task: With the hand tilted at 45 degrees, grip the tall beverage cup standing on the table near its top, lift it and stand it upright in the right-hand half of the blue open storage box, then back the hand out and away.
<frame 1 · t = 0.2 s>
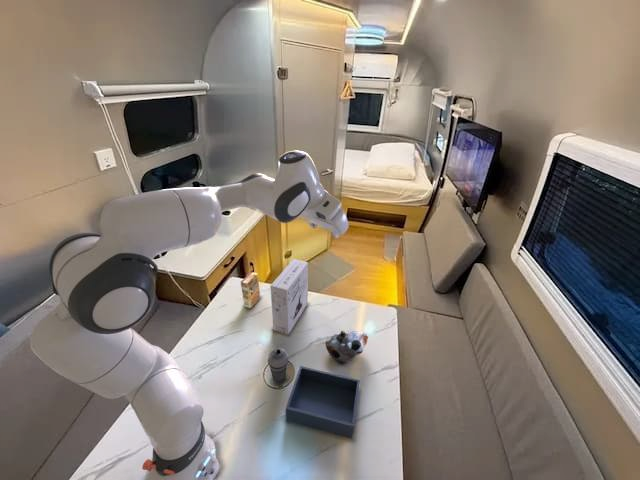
hand: (325, 231, 89), 54 cm above the table, tool tilted 30°, fingers open, 8 cm apart
blue open storage box: (323, 405, 94), on the table
beverage cup: (279, 380, 101), on the table
candy box: (252, 302, 137), on the table
cereal box: (291, 316, 130), on the table
lucky cat figurine: (345, 351, 113), on the table
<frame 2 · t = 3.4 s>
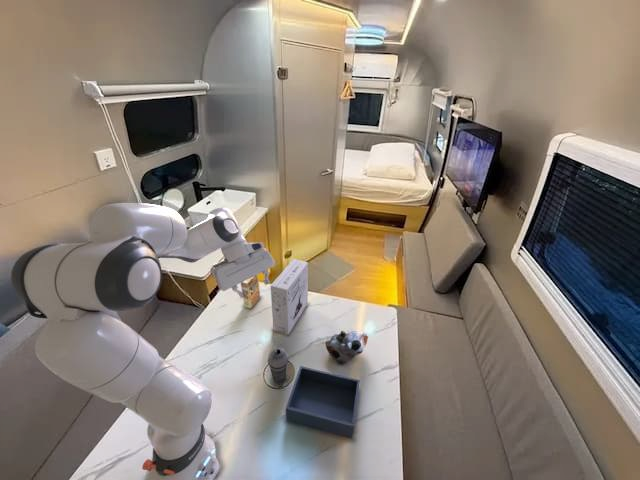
hand: (255, 290, 93), 34 cm above the table, tool tilted 40°, fingers open, 8 cm apart
nothing on the table moved.
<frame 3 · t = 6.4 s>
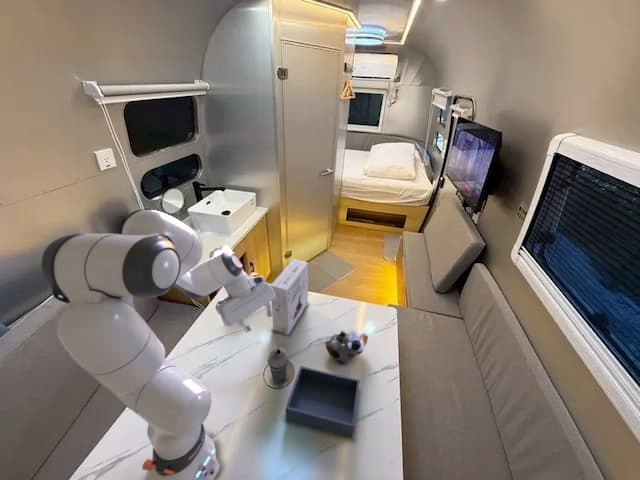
hand: (259, 323, 95), 23 cm above the table, tool tilted 45°, fingers open, 8 cm apart
nothing on the table moved.
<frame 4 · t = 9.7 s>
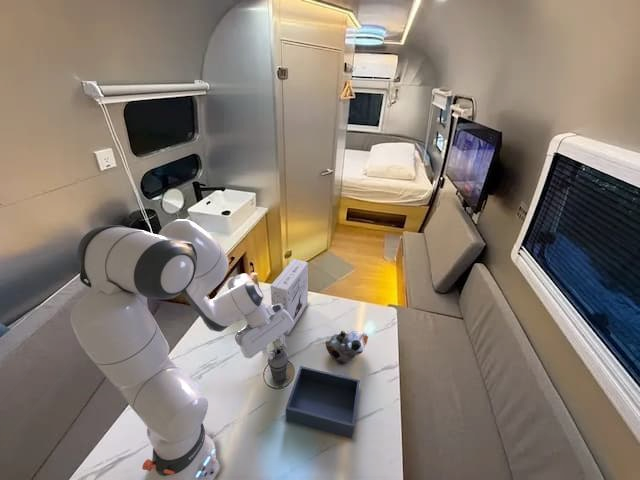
hand: (278, 353, 93), 15 cm above the table, tool tilted 45°, fingers closed on beverage cup, 4 cm apart
beverage cup: (279, 380, 101), on the table, touching gripper
everything else where it was.
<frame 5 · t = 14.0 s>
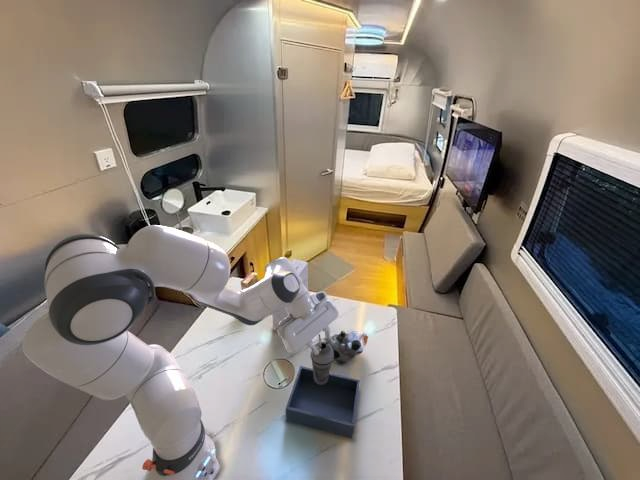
hand: (324, 347, 81), 27 cm above the table, tool tilted 45°, fingers closed on beverage cup, 4 cm apart
beverage cup: (320, 378, 89), point 12 cm above the table, touching gripper
everything else where it was.
when the fingers open (16 cm above the table, at t = 18.4 s): beverage cup stays where it is, resting on blue open storage box.
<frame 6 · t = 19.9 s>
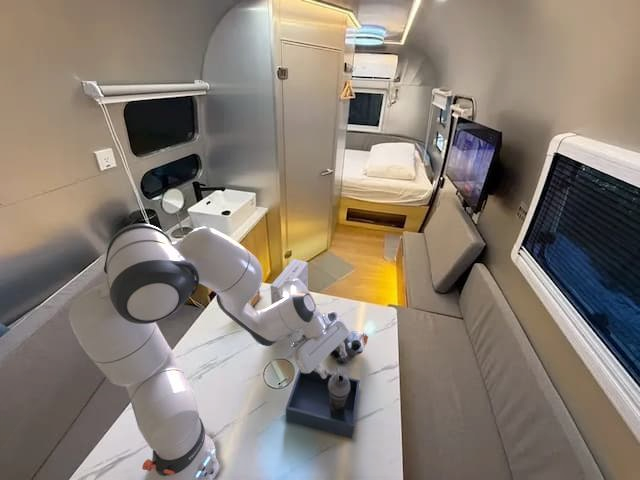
hand: (335, 366, 84), 20 cm above the table, tool tilted 45°, fingers open, 8 cm apart
beverage cup: (336, 407, 92), point 1 cm above the table, touching blue open storage box
everything else where it was.
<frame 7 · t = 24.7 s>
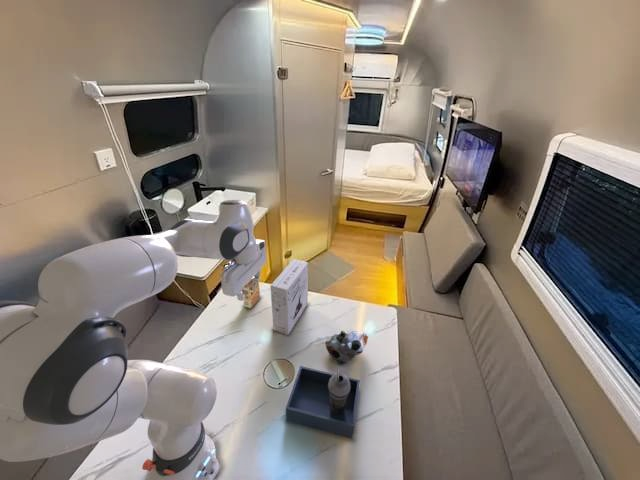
hand: (249, 289, 88), 38 cm above the table, tool pointing down, fingers open, 8 cm apart
nothing on the table moved.
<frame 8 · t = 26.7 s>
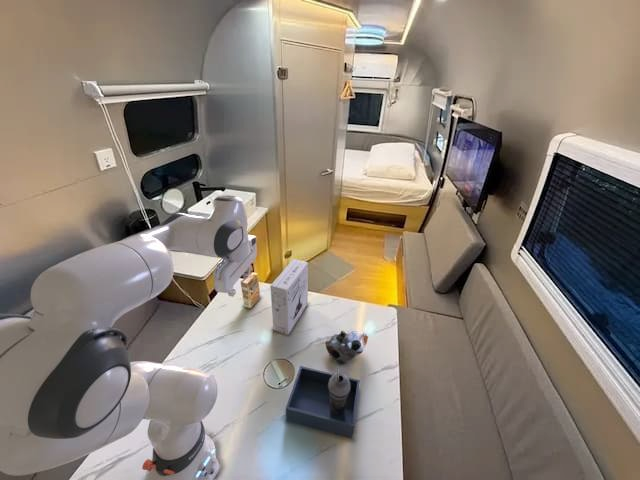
hand: (239, 285, 87), 39 cm above the table, tool pointing down, fingers open, 8 cm apart
nothing on the table moved.
at the end: beverage cup inside the target area in the blue open storage box (0.1 cm from its centre), point 0.8 cm above the blue open storage box's base; beverage cup tilted 0°; the gripper is holding nothing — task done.
